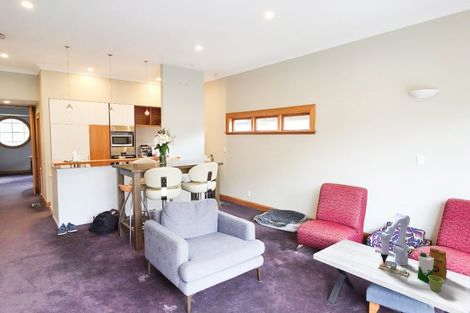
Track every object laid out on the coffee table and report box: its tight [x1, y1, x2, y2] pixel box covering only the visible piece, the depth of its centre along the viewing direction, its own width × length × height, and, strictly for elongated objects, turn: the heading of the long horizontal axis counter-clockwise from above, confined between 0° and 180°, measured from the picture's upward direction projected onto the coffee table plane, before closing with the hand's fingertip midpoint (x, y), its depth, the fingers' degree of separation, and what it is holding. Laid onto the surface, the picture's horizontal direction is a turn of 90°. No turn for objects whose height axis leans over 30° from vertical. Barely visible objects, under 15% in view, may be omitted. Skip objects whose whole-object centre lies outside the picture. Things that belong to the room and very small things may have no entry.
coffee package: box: [428, 247, 448, 281], centre depth 219 cm, size 10×12×22 cm
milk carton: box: [417, 252, 434, 283], centre depth 213 cm, size 9×9×20 cm
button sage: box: [399, 268, 407, 274], centre depth 222 cm, size 4×4×3 cm
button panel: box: [377, 263, 410, 278], centre depth 227 cm, size 21×8×2 cm, turn 50°
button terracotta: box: [380, 261, 388, 268], centre depth 231 cm, size 4×4×3 cm
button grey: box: [390, 264, 397, 271], centre depth 227 cm, size 4×4×3 cm
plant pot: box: [428, 275, 445, 293], centre depth 199 cm, size 9×9×9 cm
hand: (384, 262), depth 231 cm, fingers closed
